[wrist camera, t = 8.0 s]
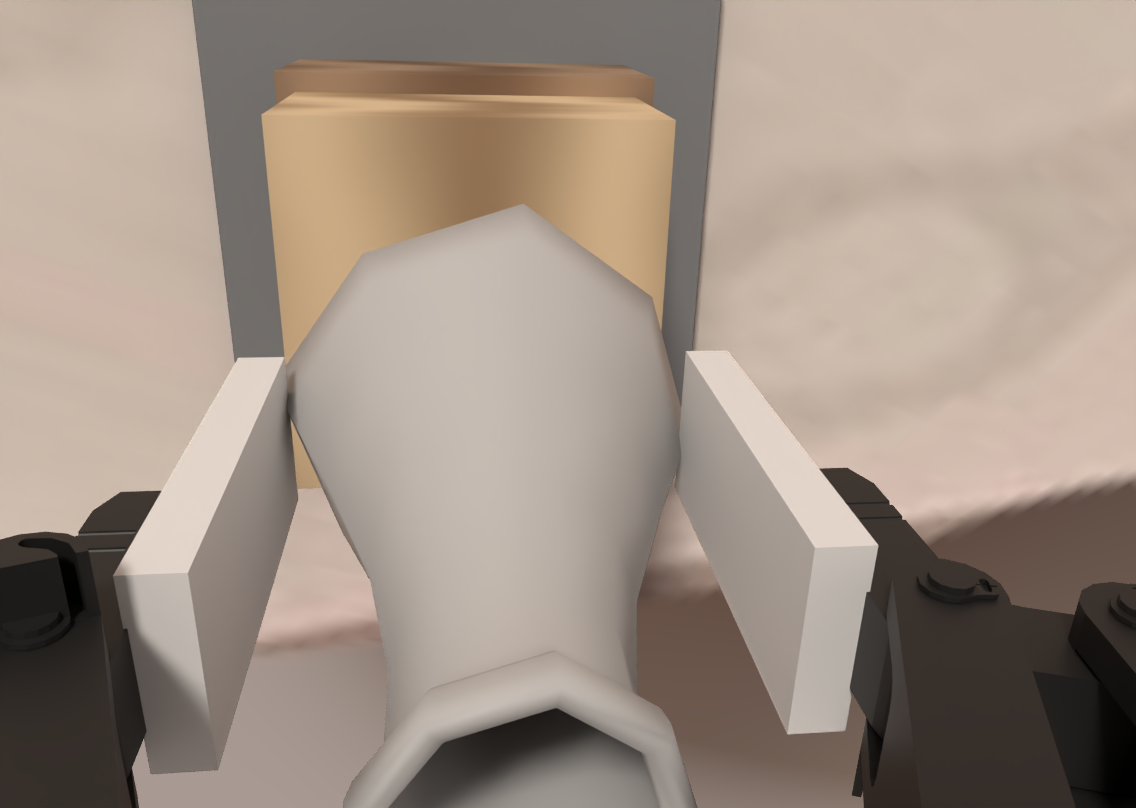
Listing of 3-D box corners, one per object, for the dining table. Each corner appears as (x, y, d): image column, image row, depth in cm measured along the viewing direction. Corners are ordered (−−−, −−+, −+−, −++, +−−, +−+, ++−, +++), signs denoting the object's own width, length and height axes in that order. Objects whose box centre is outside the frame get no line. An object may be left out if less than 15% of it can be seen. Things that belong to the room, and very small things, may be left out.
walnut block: (324, 364, 33) (305, 424, 29) (300, 58, 29) (273, 71, 25) (609, 360, 34) (634, 416, 30) (623, 65, 30) (654, 78, 26)
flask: (746, 435, 19) (1028, 854, 10) (450, 628, 20) (453, 1175, 11) (534, 124, 16) (650, 300, 7) (203, 367, 17) (-84, 803, 8)
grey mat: (249, 433, 35) (244, 445, 34) (193, -52, 29) (185, -54, 28) (679, 422, 37) (685, 433, 36) (715, -35, 30) (723, -36, 30)
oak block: (321, 408, 28) (297, 488, 24) (295, 92, 25) (261, 114, 20) (619, 402, 29) (651, 477, 25) (635, 97, 26) (676, 120, 21)
